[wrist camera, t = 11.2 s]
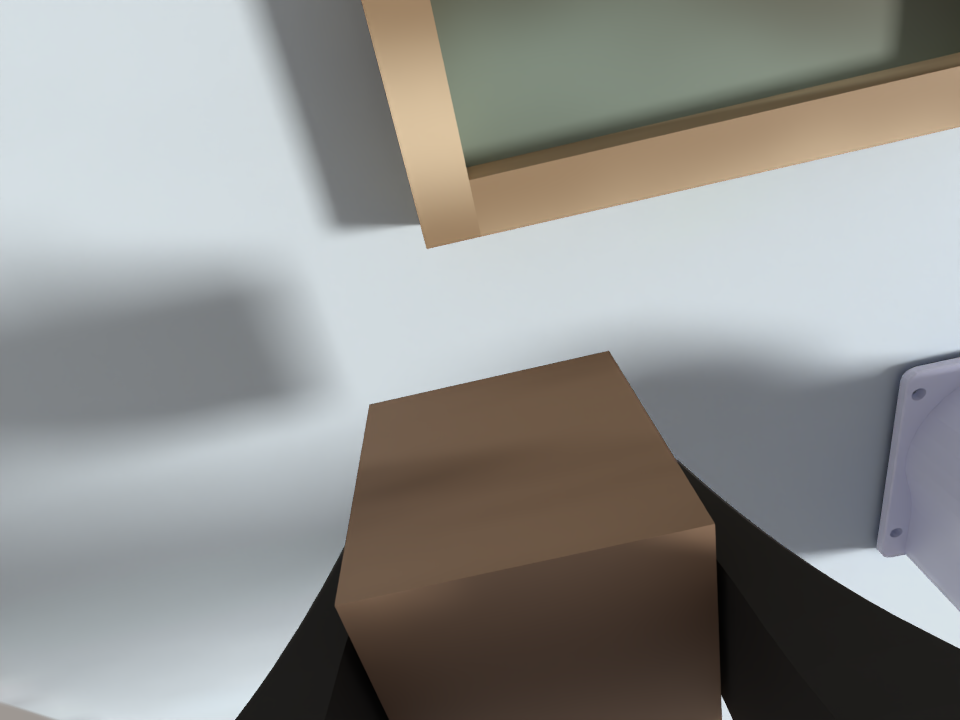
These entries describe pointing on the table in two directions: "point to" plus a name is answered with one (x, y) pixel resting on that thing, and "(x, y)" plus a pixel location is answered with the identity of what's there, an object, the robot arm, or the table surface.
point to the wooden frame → (644, 96)
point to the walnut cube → (530, 555)
